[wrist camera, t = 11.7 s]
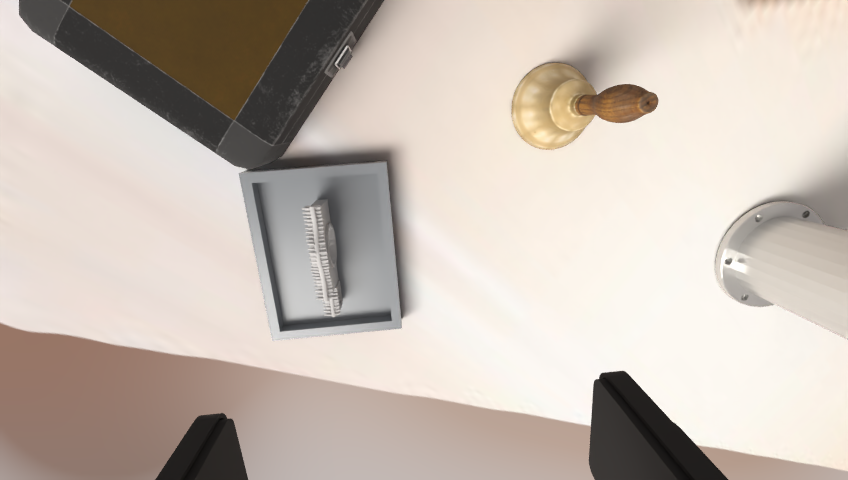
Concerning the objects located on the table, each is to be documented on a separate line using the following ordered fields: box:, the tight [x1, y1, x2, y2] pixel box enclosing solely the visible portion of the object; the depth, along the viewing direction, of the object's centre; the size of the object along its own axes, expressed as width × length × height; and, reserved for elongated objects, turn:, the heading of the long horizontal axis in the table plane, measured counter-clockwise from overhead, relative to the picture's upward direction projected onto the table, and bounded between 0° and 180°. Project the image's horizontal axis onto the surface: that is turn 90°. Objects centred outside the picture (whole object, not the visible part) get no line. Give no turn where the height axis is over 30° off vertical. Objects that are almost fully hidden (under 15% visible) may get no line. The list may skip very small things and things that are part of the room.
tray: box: [239, 160, 402, 341], centre depth 42 cm, size 14×18×2 cm
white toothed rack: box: [302, 199, 343, 317], centre depth 40 cm, size 12×2×6 cm, turn 4°
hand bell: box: [512, 63, 658, 150], centre depth 33 cm, size 8×8×16 cm
